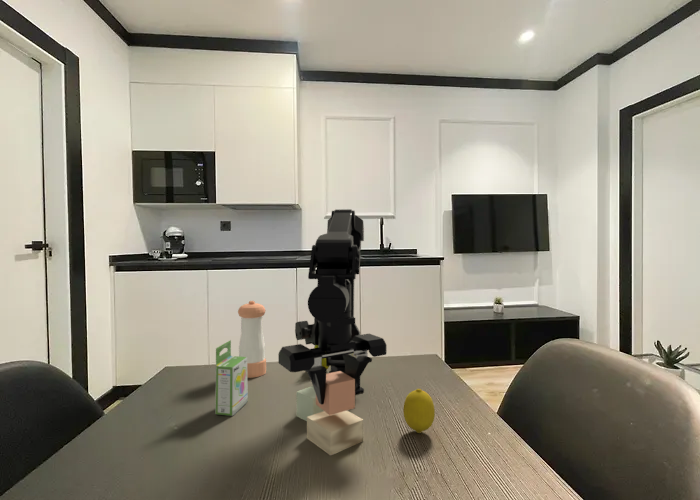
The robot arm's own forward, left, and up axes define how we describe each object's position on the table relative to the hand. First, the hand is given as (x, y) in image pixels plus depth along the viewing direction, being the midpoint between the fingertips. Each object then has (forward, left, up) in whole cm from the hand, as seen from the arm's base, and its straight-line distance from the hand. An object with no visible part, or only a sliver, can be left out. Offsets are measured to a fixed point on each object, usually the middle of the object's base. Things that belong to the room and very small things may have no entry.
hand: (334, 400), depth 65 cm
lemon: (-14, +6, -7) cm, 17 cm away
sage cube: (-1, -10, -7) cm, 12 cm away
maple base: (0, 0, -7) cm, 7 cm away
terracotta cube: (0, 0, -1) cm, 1 cm away
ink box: (+12, -22, -7) cm, 26 cm away
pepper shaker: (+2, -41, -7) cm, 42 cm away
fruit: (-14, -33, -7) cm, 36 cm away
